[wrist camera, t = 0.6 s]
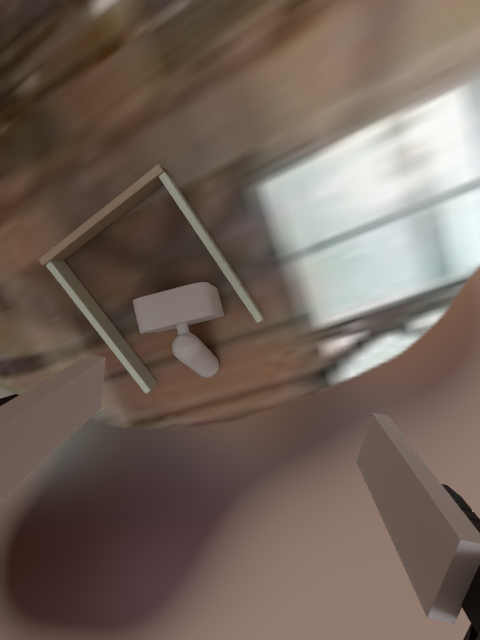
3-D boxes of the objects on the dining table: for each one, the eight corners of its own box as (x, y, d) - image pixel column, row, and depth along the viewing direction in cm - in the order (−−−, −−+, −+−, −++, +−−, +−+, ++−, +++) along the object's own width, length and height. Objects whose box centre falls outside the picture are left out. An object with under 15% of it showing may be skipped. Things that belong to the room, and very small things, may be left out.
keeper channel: (54, 258, 38) (38, 259, 35) (166, 170, 35) (158, 163, 32) (152, 385, 41) (144, 395, 38) (262, 314, 38) (263, 320, 35)
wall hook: (181, 382, 40) (150, 402, 30) (163, 305, 40) (127, 300, 30) (241, 368, 39) (229, 384, 29) (222, 290, 39) (204, 280, 29)
